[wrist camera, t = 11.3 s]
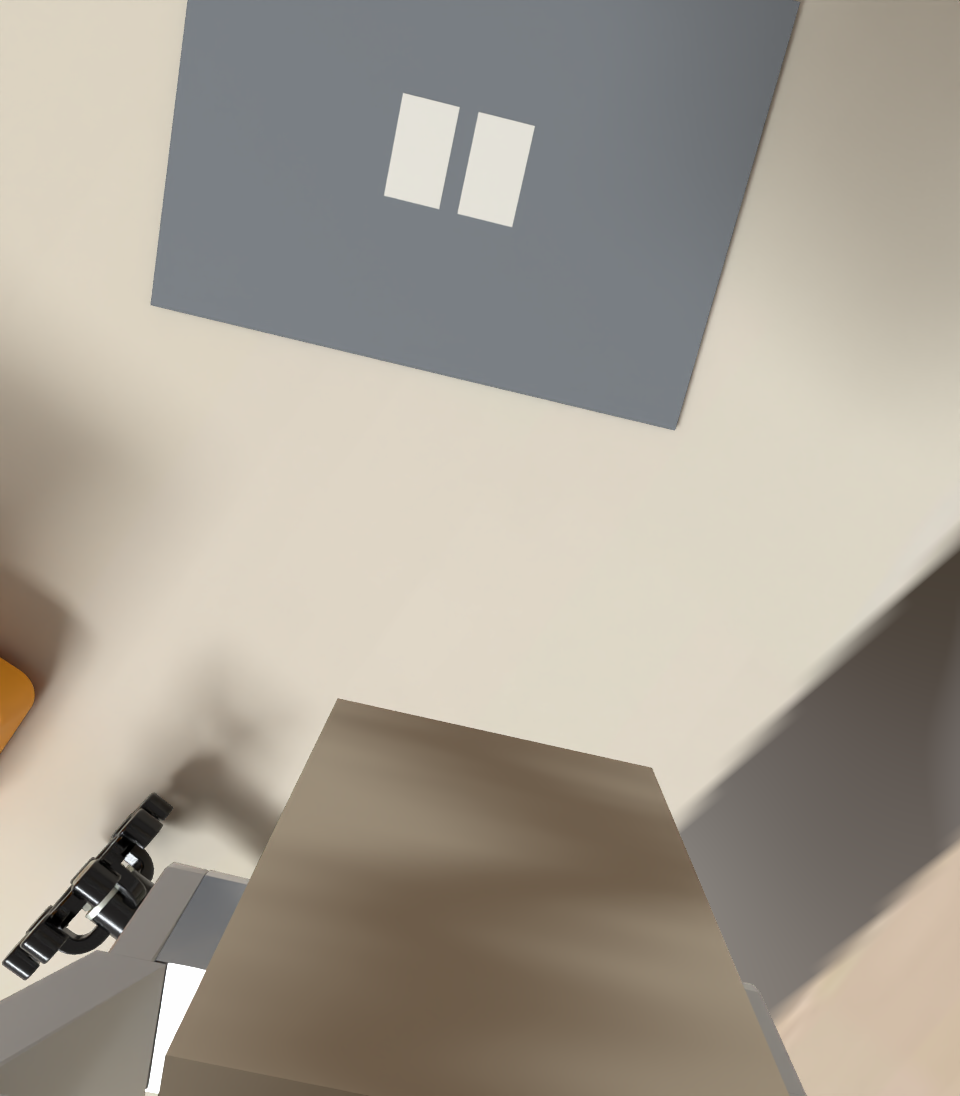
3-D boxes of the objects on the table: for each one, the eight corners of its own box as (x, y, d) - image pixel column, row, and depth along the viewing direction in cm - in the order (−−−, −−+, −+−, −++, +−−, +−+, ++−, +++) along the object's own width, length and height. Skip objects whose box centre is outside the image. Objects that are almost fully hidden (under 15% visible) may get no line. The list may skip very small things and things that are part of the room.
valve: (408, 944, 30) (179, 761, 28) (384, 1100, 23) (85, 875, 21) (306, 1038, 31) (80, 868, 29) (256, 1211, 24) (-38, 1006, 23)
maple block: (651, 768, 11) (828, 1187, 5) (570, 1024, 12) (642, 1604, 6) (337, 698, 11) (165, 1055, 5) (282, 965, 12) (89, 1509, 6)
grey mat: (797, 5, 22) (800, 1, 21) (673, 430, 25) (675, 430, 24) (208, -148, 21) (206, -153, 21) (153, 305, 24) (150, 305, 24)
